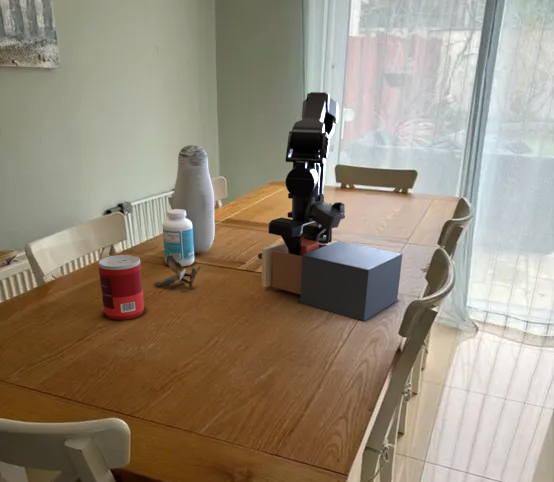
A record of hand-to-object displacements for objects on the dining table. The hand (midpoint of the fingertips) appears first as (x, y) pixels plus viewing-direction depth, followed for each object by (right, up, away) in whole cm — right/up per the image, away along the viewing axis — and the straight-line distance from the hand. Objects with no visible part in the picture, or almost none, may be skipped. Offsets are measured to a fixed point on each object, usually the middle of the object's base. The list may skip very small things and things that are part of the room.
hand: (303, 259), depth 123 cm
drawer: (-1, -5, +3) cm, 6 cm away
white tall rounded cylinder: (-28, +5, +28) cm, 40 cm away
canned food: (-37, -12, -12) cm, 40 cm away
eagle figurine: (-29, -6, +3) cm, 29 cm away
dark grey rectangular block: (+10, -10, -4) cm, 14 cm away
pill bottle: (-31, +1, +19) cm, 36 cm away
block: (0, -1, 0) cm, 1 cm away
